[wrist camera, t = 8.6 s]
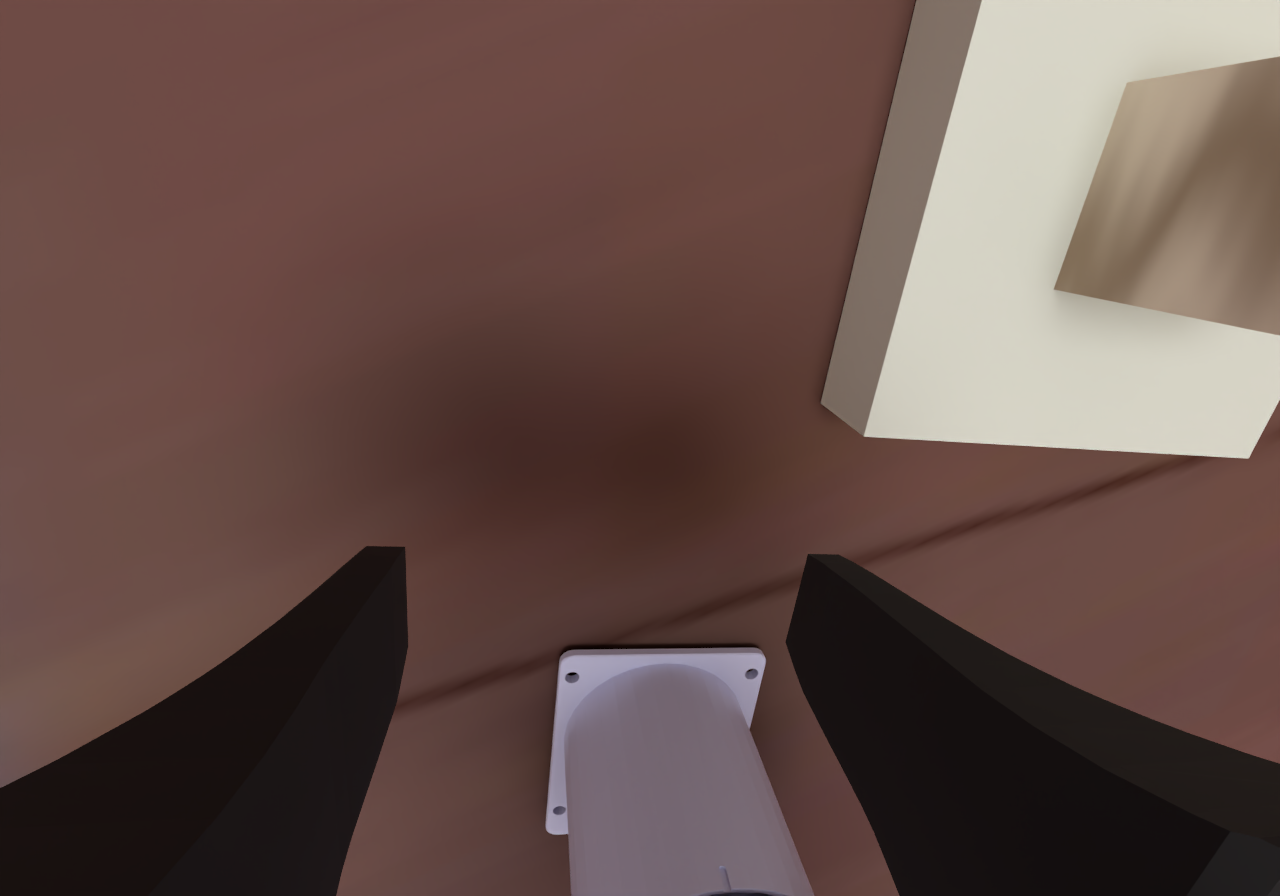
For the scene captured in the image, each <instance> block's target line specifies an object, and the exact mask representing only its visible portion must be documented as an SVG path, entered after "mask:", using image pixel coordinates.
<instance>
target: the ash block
mask: <svg viewBox="0 0 1280 896" xmlns="http://www.w3.org/2000/svg"><path fill="white" fill-rule="evenodd" d="M1054 290H1059V291H1064V292H1068V293H1073V294H1078V295H1083V296H1088V297H1093V298H1098V299H1103V300H1108V301H1112V302H1117V303H1122V304H1127V305H1132V306H1137V307H1142V308H1147V309H1152V310H1157V311H1161V312H1166V313H1171V314H1176V315H1181V316H1186V317H1191V318H1196V319H1201V320H1206V321H1210V322H1215V323H1220V324H1225V325H1230V326H1235V327H1240V328H1245V329H1250V330H1255V331H1259V332H1264V333H1269V334H1274V335H1279V336H1280V56H1279V57H1274V58H1268V59H1262V60H1256V61H1250V62H1244V63H1238V64H1233V65H1227V66H1221V67H1215V68H1209V69H1203V70H1198V71H1192V72H1186V73H1180V74H1174V75H1168V76H1163V77H1157V78H1151V79H1145V80H1139V81H1133V82H1128V83H1127V84H1126V87H1125V89H1124V92H1123V95H1122V98H1121V101H1120V103H1119V106H1118V109H1117V112H1116V115H1115V118H1114V120H1113V123H1112V126H1111V129H1110V132H1109V134H1108V137H1107V140H1106V143H1105V146H1104V149H1103V151H1102V154H1101V157H1100V160H1099V163H1098V166H1097V168H1096V171H1095V174H1094V177H1093V180H1092V182H1091V185H1090V188H1089V191H1088V194H1087V197H1086V199H1085V202H1084V205H1083V208H1082V211H1081V213H1080V216H1079V219H1078V222H1077V225H1076V228H1075V230H1074V233H1073V236H1072V239H1071V242H1070V244H1069V247H1068V250H1067V253H1066V256H1065V259H1064V261H1063V264H1062V267H1061V270H1060V273H1059V275H1058V278H1057V281H1056V284H1055V287H1054Z"/></svg>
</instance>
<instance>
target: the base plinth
mask: <svg viewBox="0 0 1280 896" xmlns="http://www.w3.org/2000/svg"><path fill="white" fill-rule="evenodd" d="M1279 56H1280V0H916V4H915V8H914V12H913V16H912V21H911V25H910V29H909V33H908V38H907V42H906V46H905V50H904V54H903V59H902V63H901V67H900V71H899V75H898V80H897V84H896V88H895V92H894V96H893V101H892V105H891V109H890V113H889V117H888V122H887V126H886V130H885V134H884V138H883V143H882V147H881V151H880V155H879V159H878V164H877V168H876V172H875V176H874V180H873V185H872V189H871V193H870V197H869V202H868V206H867V210H866V214H865V218H864V223H863V227H862V231H861V235H860V239H859V244H858V248H857V252H856V256H855V260H854V265H853V269H852V273H851V277H850V281H849V286H848V290H847V294H846V298H845V302H844V307H843V311H842V315H841V319H840V323H839V328H838V332H837V336H836V340H835V344H834V349H833V353H832V357H831V361H830V366H829V370H828V374H827V378H826V382H825V387H824V391H823V395H822V399H821V404H822V405H823V406H825V407H826V408H827V409H829V410H830V411H831V412H832V413H834V414H835V415H836V416H838V417H839V418H840V419H842V420H843V421H844V422H845V423H847V424H848V425H849V426H851V427H852V428H853V429H855V430H856V431H857V432H858V433H860V434H861V435H862V436H864V437H880V438H898V439H915V440H933V441H950V442H968V443H985V444H1003V445H1021V446H1038V447H1056V448H1073V449H1091V450H1109V451H1126V452H1144V453H1161V454H1179V455H1196V456H1214V457H1232V458H1249V456H1250V455H1251V453H1252V451H1253V449H1254V447H1255V445H1256V443H1257V441H1258V439H1259V438H1260V436H1261V434H1262V432H1263V430H1264V428H1265V426H1266V424H1267V422H1268V421H1269V419H1270V417H1271V415H1272V413H1273V411H1274V409H1275V407H1276V405H1277V404H1278V402H1279V400H1280V336H1279V335H1274V334H1269V333H1264V332H1259V331H1255V330H1250V329H1245V328H1240V327H1235V326H1230V325H1225V324H1220V323H1215V322H1210V321H1206V320H1201V319H1196V318H1191V317H1186V316H1181V315H1176V314H1171V313H1166V312H1161V311H1157V310H1152V309H1147V308H1142V307H1137V306H1132V305H1127V304H1122V303H1117V302H1112V301H1108V300H1103V299H1098V298H1093V297H1088V296H1083V295H1078V294H1073V293H1068V292H1064V291H1059V290H1054V287H1055V284H1056V281H1057V278H1058V275H1059V273H1060V270H1061V267H1062V264H1063V261H1064V259H1065V256H1066V253H1067V250H1068V247H1069V244H1070V242H1071V239H1072V236H1073V233H1074V230H1075V228H1076V225H1077V222H1078V219H1079V216H1080V213H1081V211H1082V208H1083V205H1084V202H1085V199H1086V197H1087V194H1088V191H1089V188H1090V185H1091V182H1092V180H1093V177H1094V174H1095V171H1096V168H1097V166H1098V163H1099V160H1100V157H1101V154H1102V151H1103V149H1104V146H1105V143H1106V140H1107V137H1108V134H1109V132H1110V129H1111V126H1112V123H1113V120H1114V118H1115V115H1116V112H1117V109H1118V106H1119V103H1120V101H1121V98H1122V95H1123V92H1124V89H1125V87H1126V84H1127V83H1128V82H1133V81H1139V80H1145V79H1151V78H1157V77H1163V76H1168V75H1174V74H1180V73H1186V72H1192V71H1198V70H1203V69H1209V68H1215V67H1221V66H1227V65H1233V64H1238V63H1244V62H1250V61H1256V60H1262V59H1268V58H1274V57H1279Z"/></svg>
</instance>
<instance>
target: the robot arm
mask: <svg viewBox="0 0 1280 896" xmlns="http://www.w3.org/2000/svg"><path fill="white" fill-rule="evenodd" d="M786 644H787V647H788V650H789V653H790V656H791V659H792V662H793V666H794V669H795V671H796V674H797V677H798V679H799V682H800V685H801V687H802V690H803V692H804V694H805V696H806V698H807V701H808V703H809V705H810V707H811V709H812V711H813V712H814V714H815V716H816V718H817V720H818V722H819V724H820V726H821V728H822V730H823V732H824V734H825V736H826V738H827V740H828V742H829V744H830V746H831V748H832V749H833V751H834V753H835V755H836V757H837V759H838V761H839V763H840V765H841V767H842V769H843V771H844V773H845V774H846V776H847V778H848V780H849V782H850V784H851V786H852V788H853V790H854V792H855V794H856V796H857V798H858V800H859V801H860V803H861V805H862V807H863V810H864V812H865V814H866V816H867V818H868V820H869V822H870V824H871V827H872V829H873V831H874V833H875V836H876V838H877V841H878V843H879V846H880V848H881V850H882V853H883V855H884V858H885V860H886V863H887V865H888V868H889V870H890V873H891V875H892V878H893V880H894V883H895V885H896V888H897V890H898V893H899V895H900V896H1280V764H1279V763H1276V762H1272V761H1269V760H1266V759H1262V758H1259V757H1256V756H1253V755H1250V754H1247V753H1244V752H1241V751H1238V750H1235V749H1232V748H1230V747H1227V746H1224V745H1221V744H1218V743H1215V742H1212V741H1209V740H1207V739H1204V738H1201V737H1198V736H1195V735H1192V734H1189V733H1187V732H1184V731H1181V730H1179V729H1176V728H1173V727H1171V726H1168V725H1165V724H1163V723H1160V722H1158V721H1155V720H1152V719H1150V718H1147V717H1145V716H1142V715H1140V714H1138V713H1135V712H1133V711H1130V710H1128V709H1126V708H1123V707H1121V706H1118V705H1116V704H1113V703H1111V702H1109V701H1106V700H1104V699H1101V698H1099V697H1097V696H1094V695H1092V694H1090V693H1088V692H1085V691H1083V690H1081V689H1079V688H1076V687H1074V686H1072V685H1070V684H1068V683H1066V682H1064V681H1062V680H1060V679H1057V678H1055V677H1053V676H1051V675H1049V674H1047V673H1045V672H1043V671H1041V670H1039V669H1037V668H1035V667H1033V666H1031V665H1029V664H1027V663H1025V662H1023V661H1021V660H1019V659H1017V658H1015V657H1013V656H1011V655H1009V654H1007V653H1005V652H1004V651H1002V650H1000V649H998V648H996V647H995V646H993V645H991V644H989V643H987V642H986V641H984V640H982V639H980V638H978V637H977V636H975V635H973V634H971V633H970V632H968V631H966V630H964V629H963V628H961V627H959V626H958V625H956V624H954V623H952V622H951V621H949V620H947V619H946V618H944V617H942V616H941V615H939V614H937V613H936V612H934V611H932V610H931V609H929V608H928V607H926V606H924V605H923V604H921V603H919V602H918V601H916V600H915V599H913V598H911V597H910V596H908V595H907V594H905V593H903V592H902V591H900V590H899V589H897V588H895V587H894V586H892V585H890V584H889V583H887V582H886V581H884V580H882V579H881V578H879V577H878V576H876V575H874V574H873V573H871V572H869V571H868V570H866V569H864V568H863V567H861V566H859V565H857V564H856V563H854V562H852V561H850V560H848V559H846V558H844V557H842V556H840V555H828V554H808V556H807V560H806V564H805V568H804V572H803V576H802V580H801V584H800V588H799V592H798V596H797V600H796V604H795V608H794V612H793V615H792V619H791V623H790V627H789V631H788V635H787V639H786ZM407 649H408V627H407V594H406V560H405V547H380V546H366V547H365V548H364V549H363V550H361V551H360V552H359V553H358V554H357V555H355V556H354V557H353V558H352V559H350V560H349V561H348V562H347V563H346V564H345V565H344V566H342V567H341V568H340V569H339V570H338V571H337V572H336V573H334V574H333V575H332V576H331V577H330V578H329V579H328V580H326V581H325V582H324V583H323V584H322V585H321V586H319V587H318V588H317V589H316V590H315V591H314V592H312V593H311V594H310V595H309V596H308V597H306V598H305V599H304V600H303V601H302V602H300V603H299V604H298V605H297V606H296V607H294V608H293V609H292V610H291V611H289V612H288V613H287V614H286V615H285V616H283V617H282V618H281V619H280V620H278V621H277V622H276V623H275V624H273V625H272V626H271V627H269V628H268V629H267V630H265V631H264V632H263V633H261V634H260V635H259V636H257V637H256V638H255V639H253V640H252V641H251V642H249V643H248V644H247V645H245V646H244V647H243V648H241V649H240V650H239V651H237V652H236V653H235V654H233V655H232V656H230V657H229V658H228V659H226V660H225V661H223V662H222V663H220V664H219V665H217V666H216V667H214V668H213V669H212V670H210V671H209V672H207V673H206V674H204V675H203V676H201V677H200V678H198V679H196V680H195V681H193V682H192V683H190V684H188V685H187V686H185V687H184V688H182V689H181V690H179V691H177V692H176V693H174V694H173V695H171V696H169V697H168V698H166V699H165V700H163V701H161V702H160V703H158V704H156V705H155V706H153V707H151V708H150V709H148V710H146V711H145V712H143V713H141V714H139V715H138V716H136V717H134V718H132V719H130V720H129V721H127V722H125V723H123V724H121V725H120V726H118V727H116V728H114V729H112V730H110V731H109V732H107V733H105V734H103V735H101V736H100V737H98V738H96V739H94V740H92V741H91V742H89V743H87V744H85V745H83V746H82V747H80V748H78V749H76V750H74V751H72V752H71V753H69V754H67V755H65V756H63V757H62V758H60V759H58V760H56V761H54V762H52V763H50V764H48V765H46V766H44V767H42V768H40V769H38V770H36V771H34V772H32V773H30V774H28V775H26V776H24V777H22V778H20V779H18V780H16V781H14V782H12V783H10V784H8V785H6V786H4V787H2V788H0V896H336V894H337V889H338V885H339V881H340V877H341V872H342V869H343V865H344V862H345V858H346V855H347V852H348V848H349V845H350V841H351V838H352V835H353V832H354V829H355V826H356V823H357V820H358V817H359V814H360V811H361V808H362V805H363V802H364V799H365V796H366V793H367V790H368V787H369V784H370V781H371V778H372V775H373V772H374V769H375V766H376V763H377V760H378V757H379V754H380V751H381V748H382V745H383V742H384V739H385V736H386V733H387V730H388V727H389V724H390V721H391V718H392V715H393V712H394V709H395V706H396V703H397V698H398V694H399V689H400V684H401V679H402V674H403V669H404V664H405V659H406V654H407ZM765 664H766V658H765V656H764V654H763V652H762V651H761V650H760V649H758V648H674V649H591V650H569V651H567V652H565V653H563V654H562V656H561V657H560V660H559V669H558V680H557V692H556V704H555V716H554V727H553V739H552V751H551V763H550V774H549V786H548V798H547V810H546V830H547V831H548V832H549V833H551V834H554V835H561V834H568V840H569V860H570V881H571V896H814V893H813V891H812V888H811V886H810V883H809V881H808V878H807V876H806V873H805V870H804V868H803V865H802V863H801V860H800V858H799V855H798V853H797V850H796V847H795V845H794V842H793V840H792V837H791V835H790V832H789V830H788V827H787V824H786V822H785V819H784V817H783V814H782V812H781V809H780V807H779V804H778V801H777V799H776V796H775V794H774V791H773V789H772V786H771V784H770V781H769V778H768V776H767V773H766V771H765V768H764V766H763V763H762V760H761V758H760V755H759V753H758V750H757V748H756V745H755V743H754V740H753V737H752V735H751V732H750V726H751V722H752V717H753V713H754V709H755V705H756V701H757V697H758V693H759V689H760V685H761V680H762V676H763V672H764V668H765ZM749 669H753V670H752V671H750V672H747V671H748V670H749ZM571 672H575V673H577V674H575V675H572V676H570V675H567V674H568V673H571Z"/></svg>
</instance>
